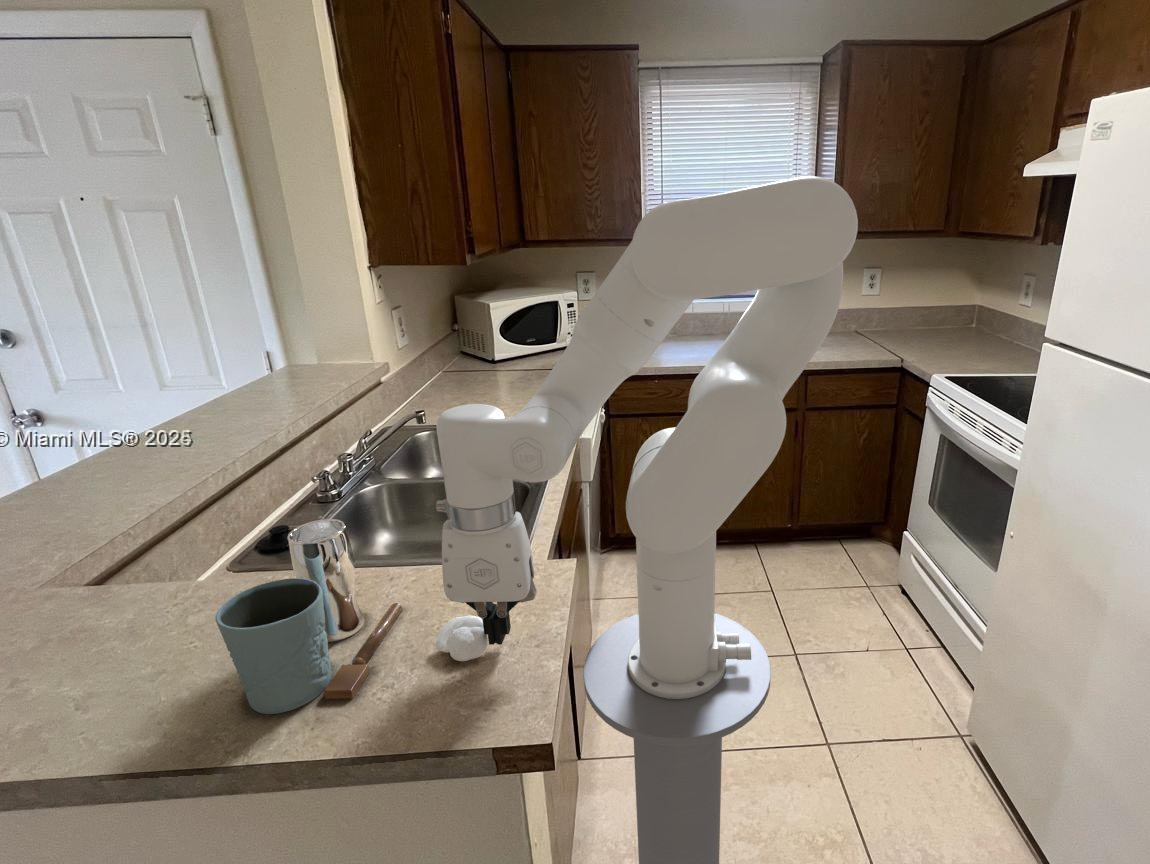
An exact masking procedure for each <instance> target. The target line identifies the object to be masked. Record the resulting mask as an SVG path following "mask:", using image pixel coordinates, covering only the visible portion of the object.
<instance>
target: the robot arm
mask: <svg viewBox="0 0 1150 864" xmlns="http://www.w3.org/2000/svg"><path fill="white" fill-rule="evenodd" d="M858 227H859V219H858V213H857V209H856V207H855V204H854V201H853V199H852V198H851V196H850V195H849V193H848V192H847V191H846V190H845V189H844V188H843V187H842V186H841V185H840V184H838V183H836V182H835V181H833V180H831V179H828V178H826V177H822V176H814V175H804V176H799V177H793V178H790V179H789V178H788V179H784V180H779V181H774V182H771V183H766V184H760V185H756V186H751V187H745V188H741V189H740V188H739V189H736V190H732V191H727V192H720V193H716V194H709V195H704V196H698V197H691V198H684V199H677V200H670V201H667V202H663V203H660V204H658V205H657V206H654V207H653V208H651V209H650V210H649V211H648V212H647V213H646V214H645V215H644V216H643V217H642V218H641V219H640V221H639V222H638V224H637V226H636V228H635V230H634V233H633V236H632V240H631V241H630V243H629V244H628V246H627V247H626V249H625V250H624V252H623V253H622V254H621V256H620V258H619V259H618V261H617V262H616V263H615V264H614V266H613V268H612V269H611V271H609V273H608V275H607V276H606V277H605V278H604V281H603V282H602V283H601V285H600V286H599V287H598V289H597V291H595V293H594V294H593V296H592V298H591V299H590V301H588V303H587V304H586V305H585V307H584V308H583V310H582V311H581V313H580V314H579V316H578V317H577V319H576V321H575V324H574V326H573V329H572V335H571V337H570V340H569V343H568V344H567V345H566V347H565V350H563V351H564V352H563V353H562V354H561V356H560V358H559V359H558V360H557V362H556V364H555V365H554V366H553V368H552V369H551V370H550V372H549V373H548V375H547V376H546V378H545V379H544V380H543V382H542V383H541V385H540V386H539V388H538V389H537V390H536V392H535V393H534V395H532V396H531V398H530V399H529V400H528V402H526V404H525V405H524V406H523V407H522V408H521V409H520V411H518V413H515V414H514V415H511V416H508V417H506V416H505V413H504V412H503V411H502V410H501V409H500V408H499V407H497V406H495V405H491V404H485V403H468V404H462V405H457V406H453V407H450V408H448V409H446V410H444V411H443V412H441V414H440V415H438V418H437V420H436V426H435V427H436V435H437V443H438V449H439V450H438V451H439V456H440V463H441V464H440V465H441V470H442V476H443V477H442V478H443V484H444V490H445V498H444V499H438V500H437V501H436V503H435V509H436V511H437V512H443V513H445V514H446V516H447V520H446V521H444V522H443V525H442V532H441V570H442V571H441V572H442V582H443V583H442V584H443V590H444V594H445V596H446V598H447V599H448V600H449V601H452V602H457V603H461V604H466V605H467V606H469V607H470V608H471V609H473V610H474V611H475V612H476V614H477V617H479V618H481V619H482V620H483V628H484V634H485V635H487V640H488V641H487V642H488V645H489V646H490V645H491V646H493V645H494V644H496V645H503V643H504V640H505V638H506V635H508V636H509V635H510V633H511V617H510V611H511V610H512V609H513V608H515V606H517V605H518V604H519V603H527V602H530V601H534V600H535V598H536V596H537V592H538V590H537V588H536V585H535V583H534V577H535V564H534V559H533V553H532V548H531V542H530V538H529V534H528V532H527V528H526V524H525V522H524V519H523V516H522V514H521V512H519V511H516V500H515V491H514V481H519V482H525V483H543V482H546V481H549V480H552V479H554V478H555V477H557V476H558V475H559V474H560V473H561V472H562V470H563V469H564V468H565V466H566V465H567V462H568V460H569V458H570V457H571V455H572V452H573V450H574V448H575V446H576V445H577V443H578V441H579V440H580V438H581V437H582V434H583V433H584V432H585V430H586V429H587V427H588V426H589V424H590V423H591V422H592V420H593V419H594V418H595V416H596V415H597V414H598V412H599V411H600V410H601V408H602V407H603V406H604V405H605V403H606V402H607V400H608V399H609V398H610V397H611V395H612V394H613V393H614V392H615V391H616V389H618V387H619V386H620V385H621V384H622V383H623V382H624V381H625V380H627V379H628V378H630V377H632V376H633V375H636V374H637V373H639V371H640V370H641V369H643V367H644V366H645V365H646V364H647V363H648V361H649V360H650V358H651V357H652V356H653V355H654V353H655V352H656V351H657V349H658V348H659V347H660V345H661V344H662V343H663V341H664V340H665V338H666V337H667V336H668V335H669V333H670V332H671V330H672V329H673V328H674V327H675V326H676V324H677V323H678V322H679V320H680V319H681V317H682V316H683V315H684V313H686V311H687V310H688V309H689V307H690V306H691V304H692V303H693V302H694V301H695V300H702V299H710V298H717V297H724V296H730V295H736V294H741V293H747V292H753V291H756V293H755V295H754V297H753V299H752V301H751V303H750V304H749V306H748V307H747V309H746V310H745V312H743V314H742V316H741V318H740V319H739V321H738V322H737V324H736V325H735V326H734V328H733V329H732V331H731V332H730V333H729V335H728V336H727V337H726V338H725V340H724V342H723V343H722V344H721V346H720V347H719V348H718V350H717V351H716V352H715V353H714V355H713V356H712V357H711V358H710V360H709V361H708V362H707V364H705V366H704V367H703V368H702V370H701V371H700V372H699V373H698V375H696V377H695V379H694V380H693V382H692V384H691V387H690V389H689V393H688V399H687V410H686V412H685V413H684V415H683V416H682V418H681V419H680V421H679V422H678V423H677V425H676V426H675V427H668V428H664V429H661V430H659V431H657V432H655V433H653V434H652V435H651V436H650V437H648V439H646V440H645V441H644V442H643V444H642V445H641V447H640V448H639V450H638V452H637V454H636V456H635V460H634V463H633V466H632V470H631V473H630V474H631V475H630V479H629V484H628V489H627V493H626V499H625V513H626V520H627V524H628V526H629V529H630V530H631V532H632V534H633V536H634V537H635V547H636V548H635V552H636V553H635V555H636V560H635V561H636V585H637V614H638V617H639V640H638V641H637V642H636V643H635V644H634V645H633V647H632V648H631V650H630V652H629V656H628V669H629V673H630V676H631V678H632V679H633V681H634V682H635V683H636V684H637V685H638V686H639V687H640V688H641V689H643V690H644V691H646V692H648V693H650V694H652V695H655V696H658V697H662V698H667V699H686V698H691V697H695V696H699V695H701V694H704V693H706V692H708V691H709V690H711V689H712V688H714V687H715V686H716V685H717V684H718V683H719V682H720V680H721V679H722V677H723V675H724V673H725V669H726V659H737V660H751V645H750V644H739V633H731V634H721V633H720V632H716V625H715V621H714V613H716V611H715V607H716V605H715V604H716V602H715V600H716V593H715V592H716V561H717V530H718V529H719V528H720V527H721V526H722V525H723V523H724V522H726V520H727V518H728V517H729V516H730V515H731V514H732V513H733V512H734V510H735V509H736V508H737V507H738V506H739V504H740V503H741V502H742V501H743V500H744V498H745V497H746V496H747V495H748V493H749V492H750V491H751V489H752V488H753V487H754V486H755V485H756V483H757V482H758V481H759V480H760V478H761V477H762V476H763V475H764V474H765V472H766V471H767V469H768V468H769V467H770V466H771V465H772V463H773V461H774V460H775V458H776V457H777V454H778V453H779V451H780V449H781V446H782V444H783V441H784V439H785V435H786V430H787V414H786V408H785V405H784V402H783V400H784V398H785V396H786V395H787V393H788V392H789V390H790V389H791V388H792V387H793V385H794V384H795V382H796V381H797V380H798V378H799V377H800V376H801V374H802V373H803V372H804V370H805V369H806V367H807V366H808V365H809V363H810V361H811V360H812V359H813V358H814V355H815V354H816V353H817V352H818V350H819V349H820V347H821V346H822V344H823V343H824V341H825V339H826V338H827V336H828V334H829V333H830V331H831V329H832V326H833V325H834V323H835V320H836V317H837V315H838V312H839V309H840V304H841V300H842V294H843V286H844V285H843V284H844V261H845V260H846V258H847V257H848V256H849V254H850V253H851V251H852V250H853V247H854V245H855V243H856V239H857V235H858V230H859V228H858ZM513 480H514V481H513ZM725 644H729V645H725ZM731 644H736V645H731Z"/></svg>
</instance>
